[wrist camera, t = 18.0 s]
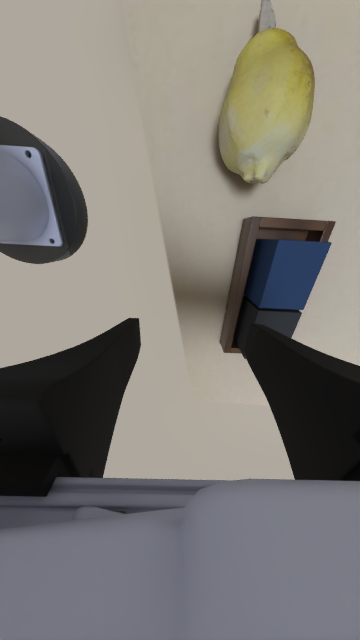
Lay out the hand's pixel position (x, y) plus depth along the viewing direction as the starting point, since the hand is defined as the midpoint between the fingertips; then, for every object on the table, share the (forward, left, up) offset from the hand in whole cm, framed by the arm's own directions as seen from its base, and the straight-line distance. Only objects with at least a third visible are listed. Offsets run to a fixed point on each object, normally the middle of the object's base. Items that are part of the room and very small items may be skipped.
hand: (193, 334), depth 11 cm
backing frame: (+9, 0, -10) cm, 14 cm away
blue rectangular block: (+9, +3, -10) cm, 14 cm away
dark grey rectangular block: (+9, -3, -10) cm, 14 cm away
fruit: (+4, +14, -11) cm, 18 cm away
